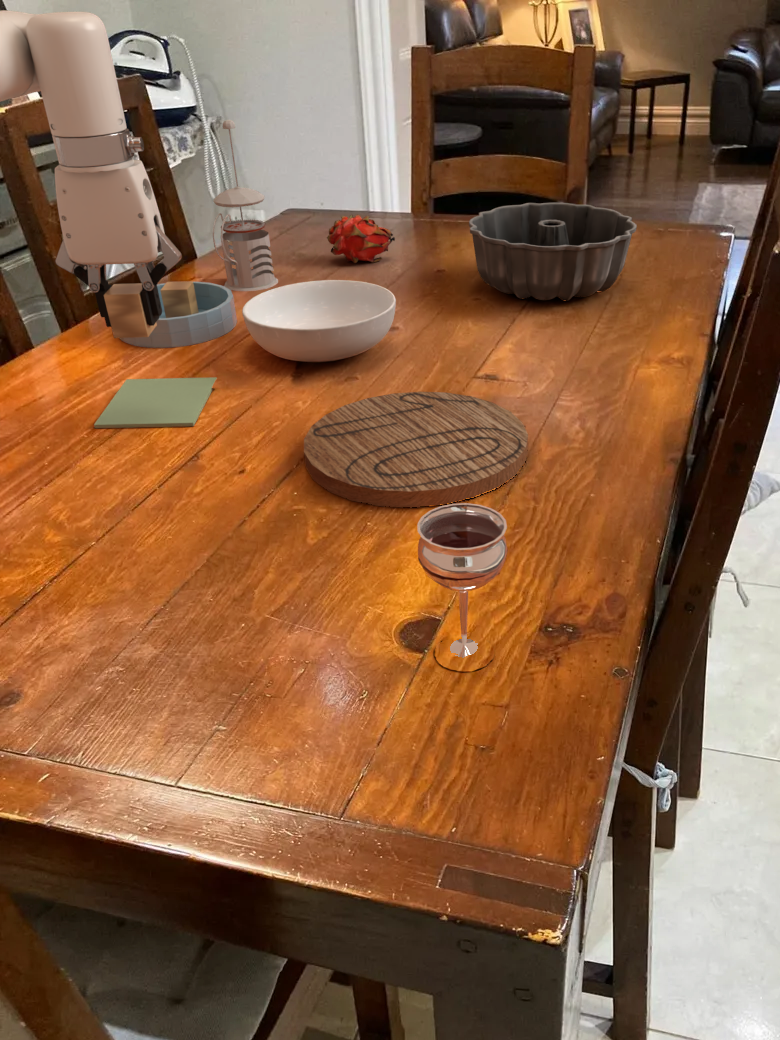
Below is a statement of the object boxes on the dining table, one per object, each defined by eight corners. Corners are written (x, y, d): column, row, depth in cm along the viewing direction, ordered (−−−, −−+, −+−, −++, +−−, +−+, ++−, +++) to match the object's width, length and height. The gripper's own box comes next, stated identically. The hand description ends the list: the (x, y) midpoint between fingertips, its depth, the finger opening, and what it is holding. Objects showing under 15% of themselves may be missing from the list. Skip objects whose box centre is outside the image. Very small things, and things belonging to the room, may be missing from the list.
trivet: (272, 436, 109) (270, 421, 108) (457, 390, 119) (457, 376, 118) (362, 532, 91) (361, 515, 90) (572, 468, 101) (573, 452, 100)
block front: (113, 338, 108) (103, 294, 105) (123, 326, 111) (113, 283, 108) (148, 337, 108) (138, 293, 105) (157, 325, 111) (147, 282, 108)
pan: (103, 352, 133) (95, 321, 130) (136, 311, 147) (130, 282, 144) (224, 349, 133) (219, 318, 130) (246, 309, 147) (242, 280, 144)
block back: (166, 323, 141) (160, 289, 138) (173, 314, 144) (166, 281, 141) (193, 322, 141) (187, 289, 138) (199, 313, 144) (193, 281, 141)
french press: (292, 280, 158) (273, 116, 144) (250, 301, 150) (225, 128, 135) (246, 273, 162) (222, 113, 147) (202, 293, 154) (173, 125, 139)
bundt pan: (665, 289, 150) (673, 224, 144) (537, 324, 138) (539, 255, 132) (560, 253, 168) (562, 194, 162) (438, 281, 156) (436, 219, 150)
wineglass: (486, 688, 72) (486, 558, 65) (408, 666, 75) (400, 538, 68) (518, 638, 77) (521, 513, 70) (444, 619, 79) (440, 496, 72)
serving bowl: (318, 316, 143) (313, 270, 139) (427, 342, 133) (426, 293, 129) (217, 359, 130) (208, 310, 126) (331, 391, 119) (325, 339, 115)
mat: (94, 428, 112) (93, 424, 112) (127, 382, 124) (126, 379, 123) (193, 426, 112) (193, 422, 112) (217, 380, 123) (217, 377, 123)
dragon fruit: (325, 269, 168) (391, 276, 170) (324, 251, 160) (394, 259, 161) (328, 223, 168) (394, 230, 170) (327, 202, 160) (397, 210, 161)
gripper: (181, 141, 101) (211, 309, 112) (28, 146, 101) (73, 313, 112) (164, 155, 95) (198, 331, 106) (1, 160, 95) (51, 335, 106)
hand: (133, 320), depth 109 cm, fingers closed on block front, 4 cm apart
